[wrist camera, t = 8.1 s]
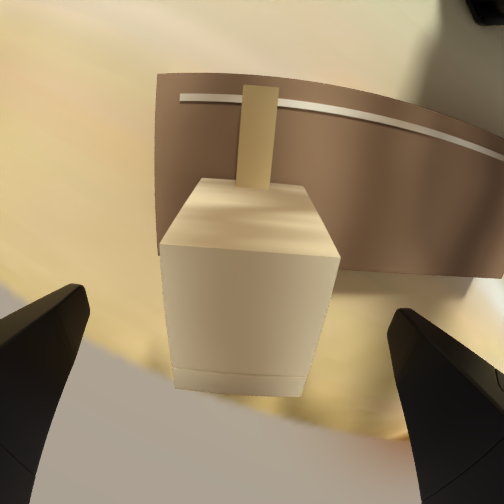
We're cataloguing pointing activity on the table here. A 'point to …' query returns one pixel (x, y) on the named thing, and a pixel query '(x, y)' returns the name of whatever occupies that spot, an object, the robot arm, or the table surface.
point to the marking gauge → (247, 273)
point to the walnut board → (346, 169)
